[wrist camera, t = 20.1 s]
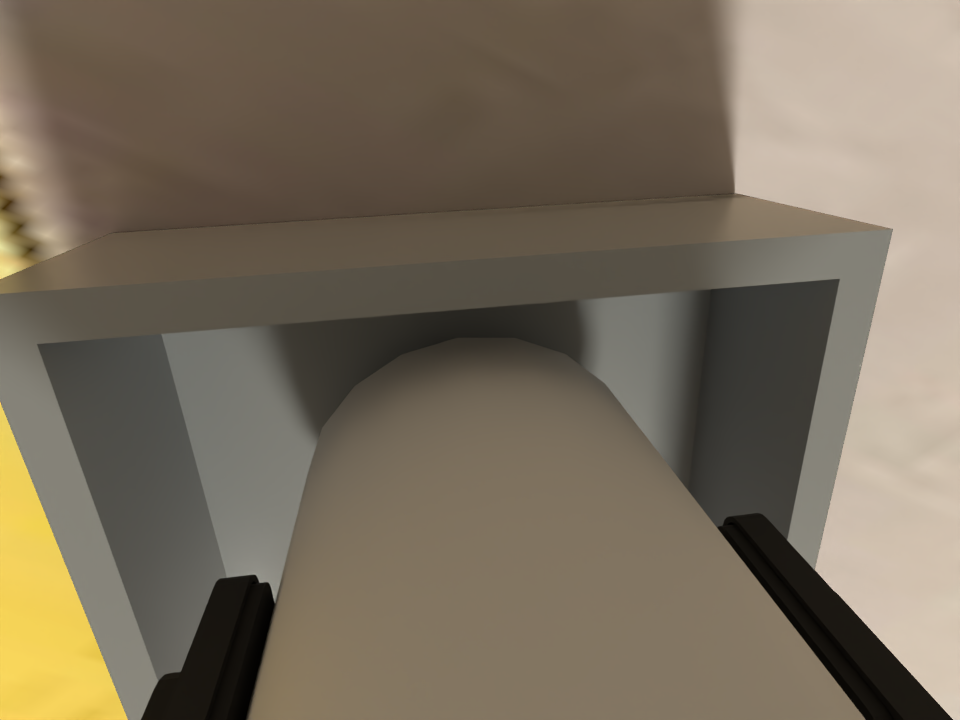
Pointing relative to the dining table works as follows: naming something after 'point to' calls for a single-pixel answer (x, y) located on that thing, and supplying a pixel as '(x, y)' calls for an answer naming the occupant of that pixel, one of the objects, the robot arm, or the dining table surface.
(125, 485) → the tote
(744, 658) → the can
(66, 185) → the dining table surface
